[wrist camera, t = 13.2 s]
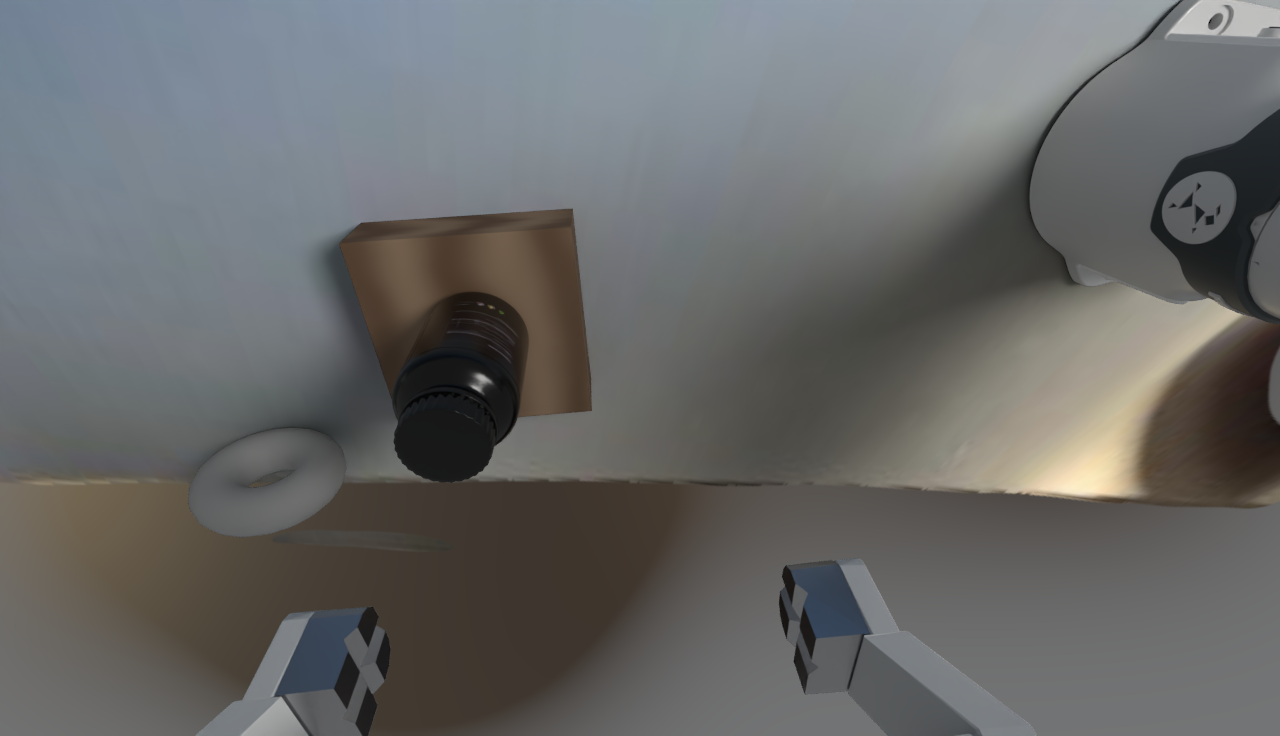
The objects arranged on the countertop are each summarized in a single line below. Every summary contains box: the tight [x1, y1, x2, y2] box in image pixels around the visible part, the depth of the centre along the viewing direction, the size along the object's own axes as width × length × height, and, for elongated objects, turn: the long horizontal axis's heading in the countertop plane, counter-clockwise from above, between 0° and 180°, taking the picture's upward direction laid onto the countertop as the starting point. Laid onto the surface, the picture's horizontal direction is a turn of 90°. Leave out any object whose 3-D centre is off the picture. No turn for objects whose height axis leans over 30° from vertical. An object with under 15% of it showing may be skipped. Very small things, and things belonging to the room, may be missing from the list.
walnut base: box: [339, 209, 592, 417], centre depth 40 cm, size 14×14×4 cm
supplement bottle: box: [392, 292, 529, 483], centre depth 33 cm, size 7×7×12 cm
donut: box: [188, 427, 346, 537], centre depth 42 cm, size 10×4×10 cm, turn 86°
